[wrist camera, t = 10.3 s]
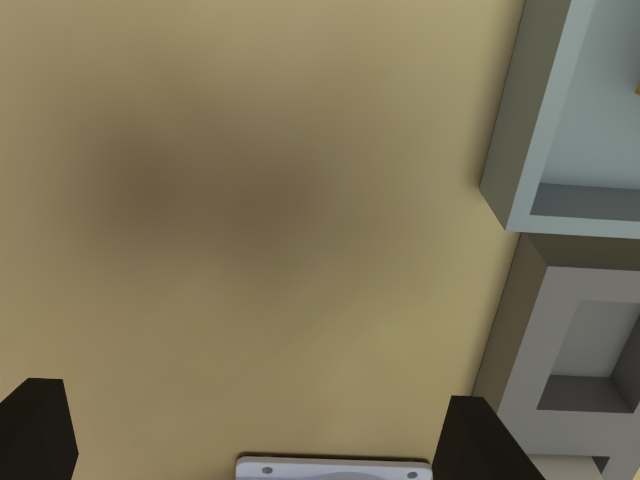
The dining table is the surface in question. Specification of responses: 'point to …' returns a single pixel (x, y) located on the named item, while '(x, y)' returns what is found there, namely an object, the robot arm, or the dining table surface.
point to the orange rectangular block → (638, 89)
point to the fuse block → (569, 350)
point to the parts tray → (570, 122)
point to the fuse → (566, 467)
